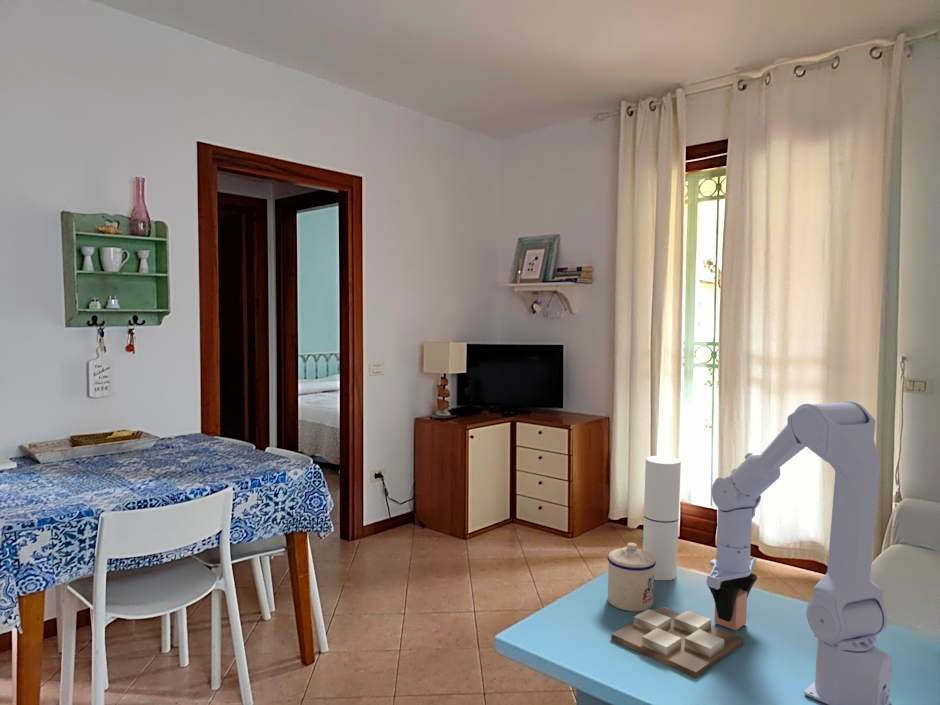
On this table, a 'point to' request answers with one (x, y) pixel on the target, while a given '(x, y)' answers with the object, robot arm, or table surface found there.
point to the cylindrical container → (662, 514)
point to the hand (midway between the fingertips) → (730, 615)
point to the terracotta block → (736, 612)
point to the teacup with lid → (631, 578)
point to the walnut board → (681, 654)
